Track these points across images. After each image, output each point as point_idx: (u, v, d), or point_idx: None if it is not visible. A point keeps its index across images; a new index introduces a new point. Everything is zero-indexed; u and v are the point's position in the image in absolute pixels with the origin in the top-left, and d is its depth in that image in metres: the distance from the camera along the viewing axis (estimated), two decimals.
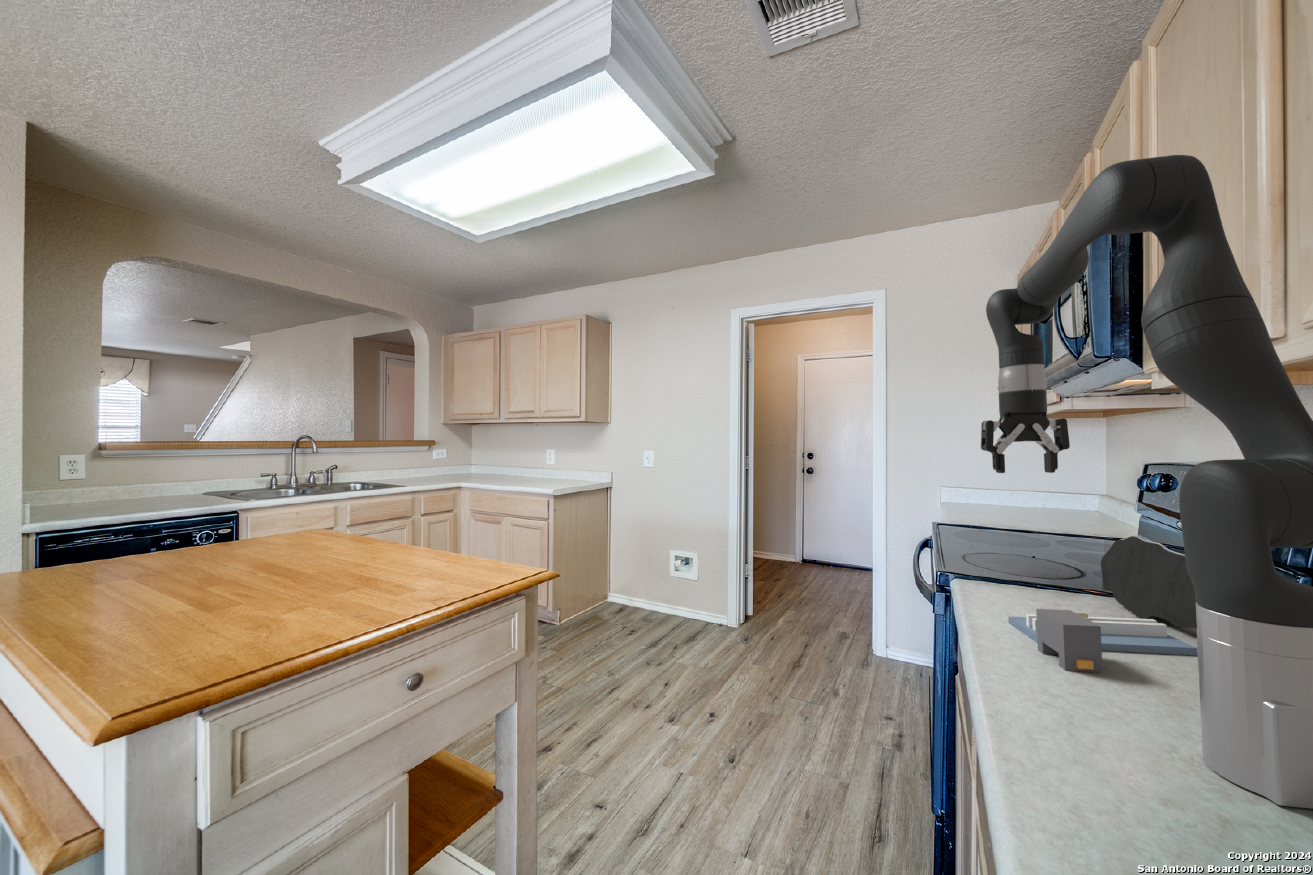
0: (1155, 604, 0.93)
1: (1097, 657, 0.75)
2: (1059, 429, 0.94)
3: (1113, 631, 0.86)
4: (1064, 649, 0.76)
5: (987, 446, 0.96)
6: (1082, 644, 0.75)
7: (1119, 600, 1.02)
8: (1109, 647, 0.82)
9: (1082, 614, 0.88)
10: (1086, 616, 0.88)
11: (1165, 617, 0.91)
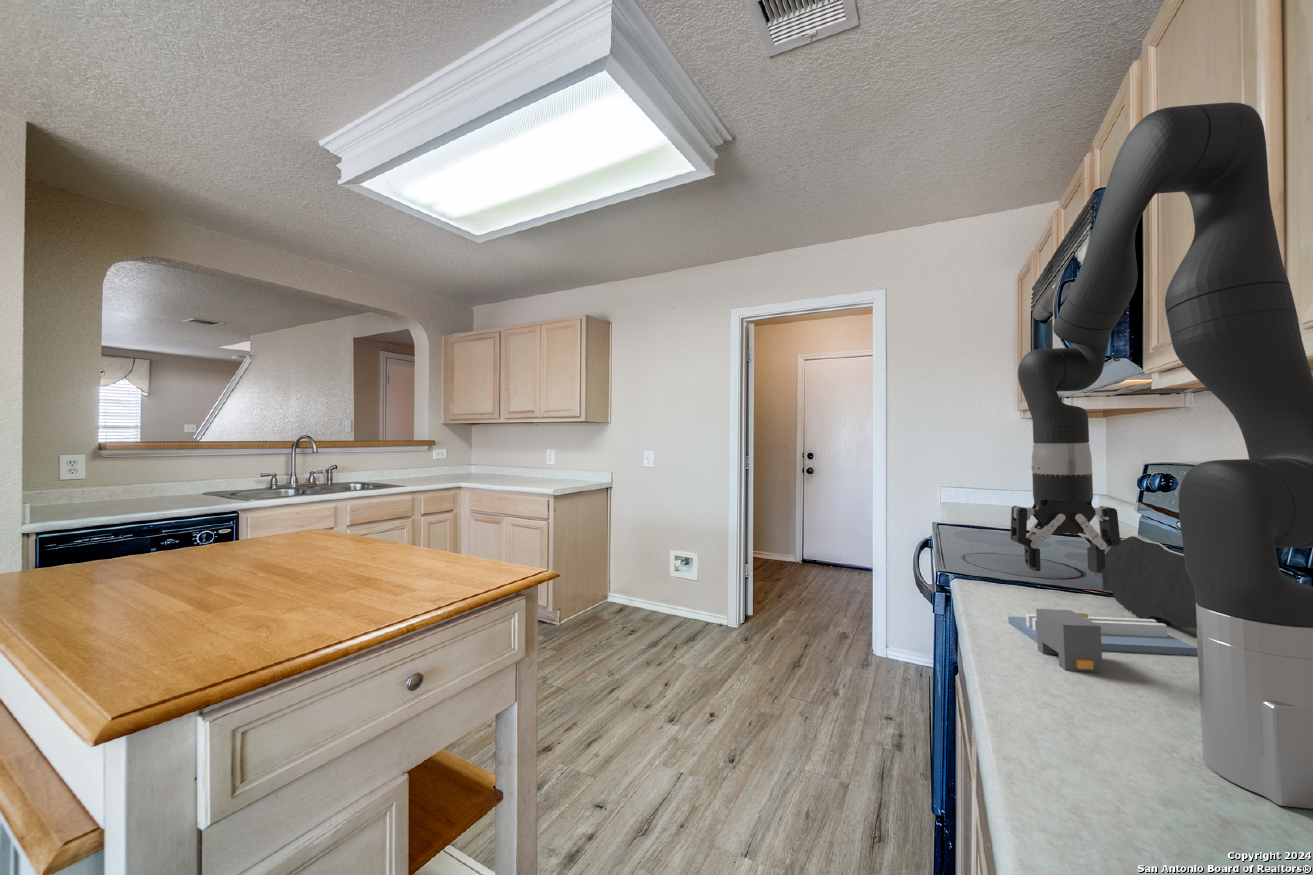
0: (1155, 604, 0.93)
1: (1097, 657, 0.75)
2: (1107, 521, 0.77)
3: (1113, 631, 0.86)
4: (1064, 649, 0.76)
5: (1019, 539, 0.80)
6: (1082, 644, 0.75)
7: (1119, 600, 1.02)
8: (1109, 647, 0.82)
9: (1082, 614, 0.88)
10: (1086, 616, 0.88)
11: (1165, 617, 0.91)
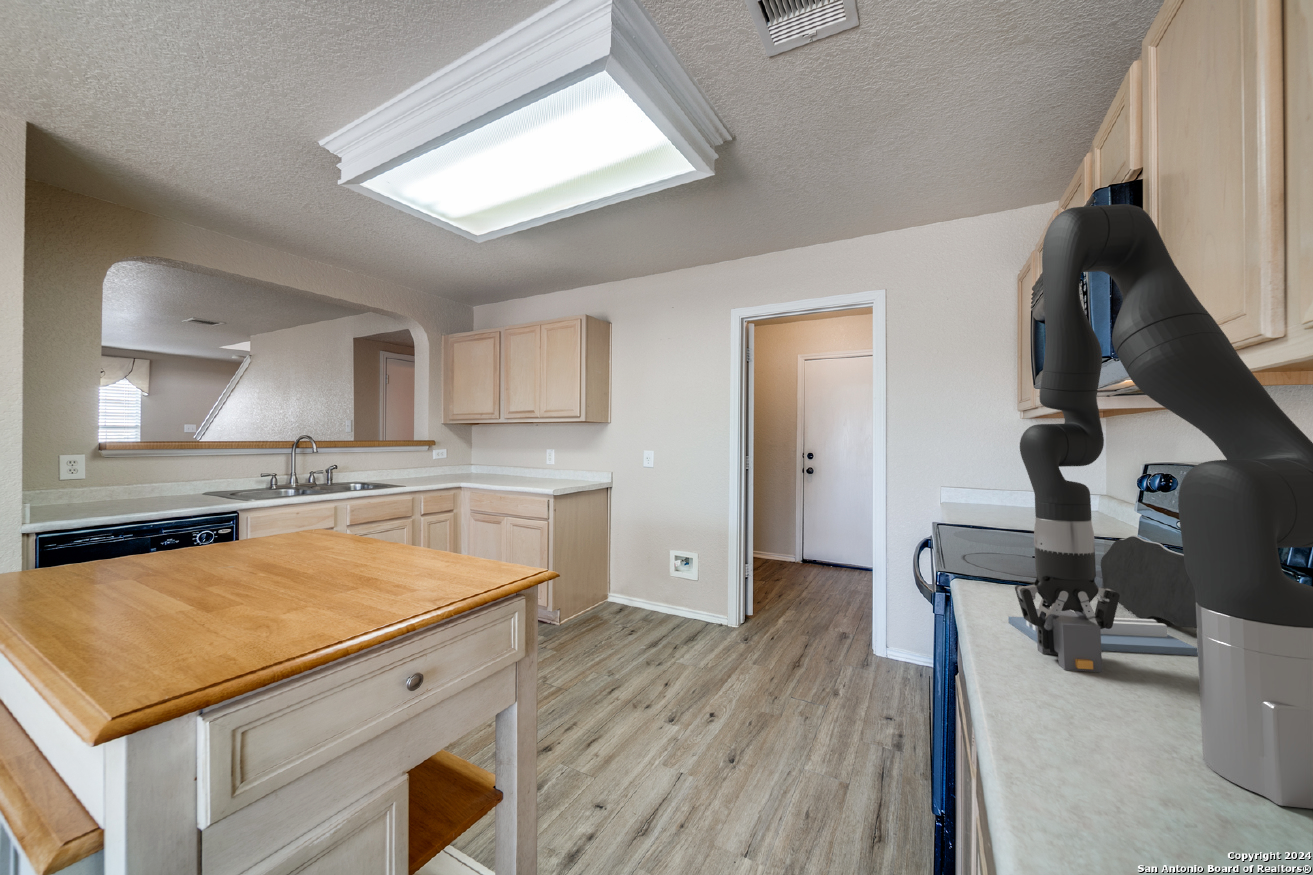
0: (1155, 604, 0.93)
1: (1097, 657, 0.75)
2: (1106, 603, 0.77)
3: (1113, 631, 0.86)
4: (1064, 649, 0.76)
5: (1032, 620, 0.79)
6: (1082, 644, 0.75)
7: (1119, 600, 1.02)
8: (1109, 647, 0.82)
9: None
10: None
11: (1165, 617, 0.91)
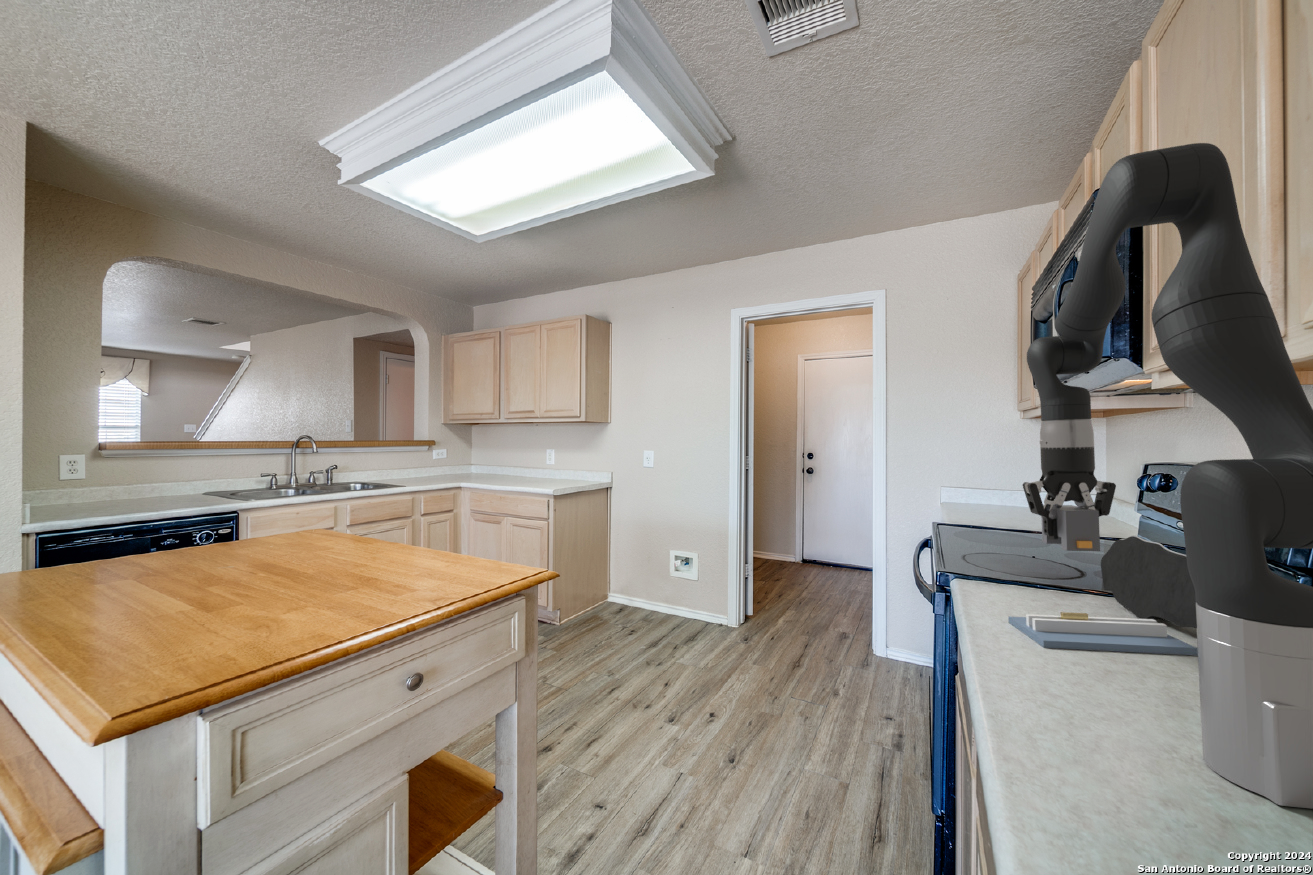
0: (1155, 604, 0.93)
1: (1095, 538, 0.85)
2: (1104, 493, 0.87)
3: (1113, 631, 0.86)
4: (1066, 532, 0.86)
5: (1038, 510, 0.89)
6: (1082, 527, 0.85)
7: (1119, 600, 1.02)
8: (1109, 647, 0.82)
9: (1082, 614, 0.88)
10: (1086, 616, 0.88)
11: (1165, 617, 0.91)
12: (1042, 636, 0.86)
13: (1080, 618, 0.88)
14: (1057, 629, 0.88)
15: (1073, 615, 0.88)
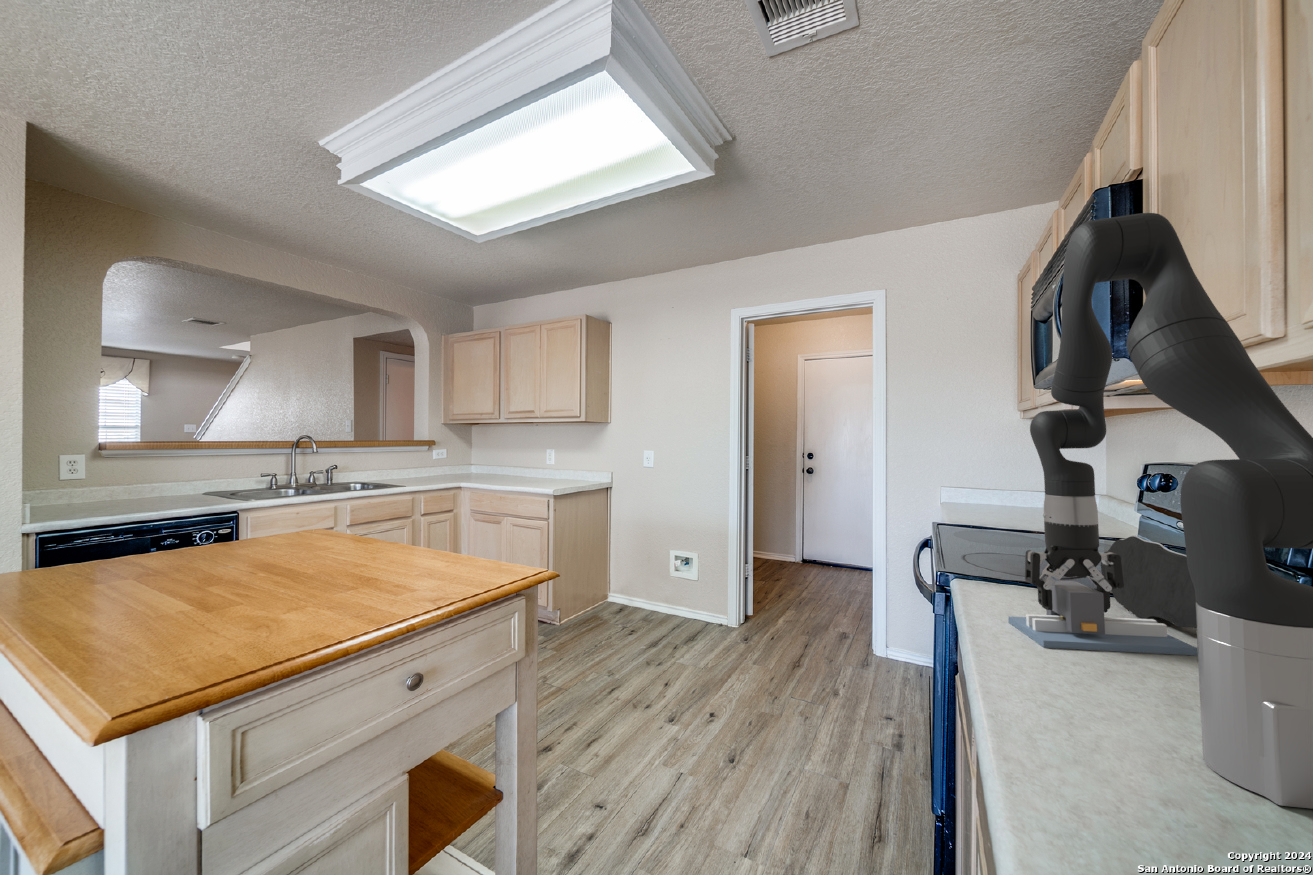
0: (1155, 604, 0.93)
1: (1100, 621, 0.84)
2: (1112, 565, 0.87)
3: (1113, 631, 0.86)
4: (1071, 614, 0.85)
5: (1033, 581, 0.89)
6: (1087, 610, 0.85)
7: (1119, 600, 1.02)
8: (1109, 647, 0.82)
9: None
10: None
11: (1165, 617, 0.91)
12: (1042, 636, 0.86)
13: None
14: (1057, 629, 0.88)
15: None
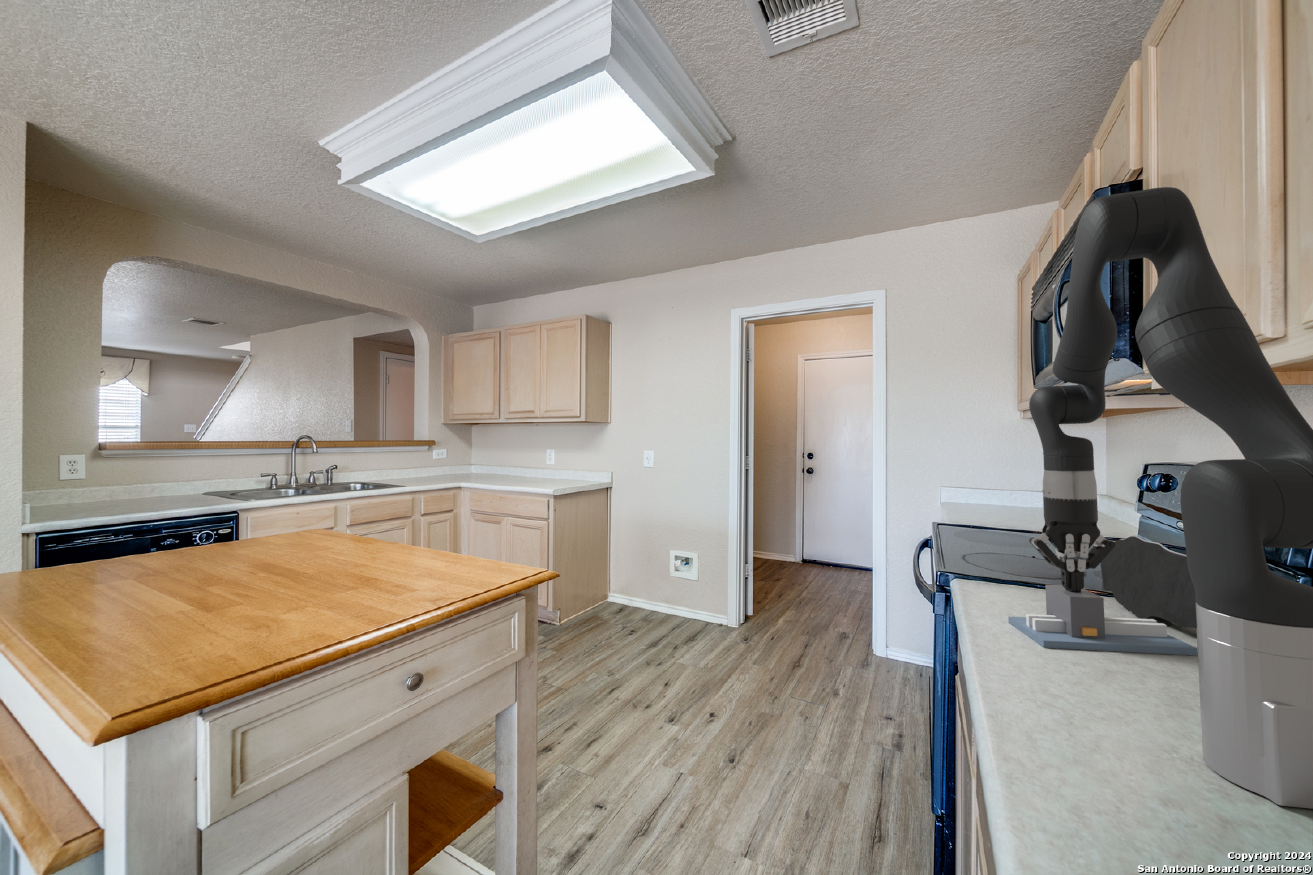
0: (1155, 604, 0.93)
1: (1101, 625, 0.84)
2: (1101, 548, 0.87)
3: (1113, 631, 0.86)
4: (1071, 619, 0.85)
5: (1056, 563, 0.88)
6: (1087, 614, 0.85)
7: (1119, 600, 1.02)
8: (1109, 647, 0.82)
9: None
10: None
11: (1165, 617, 0.91)
12: (1042, 636, 0.86)
13: None
14: (1057, 629, 0.88)
15: None
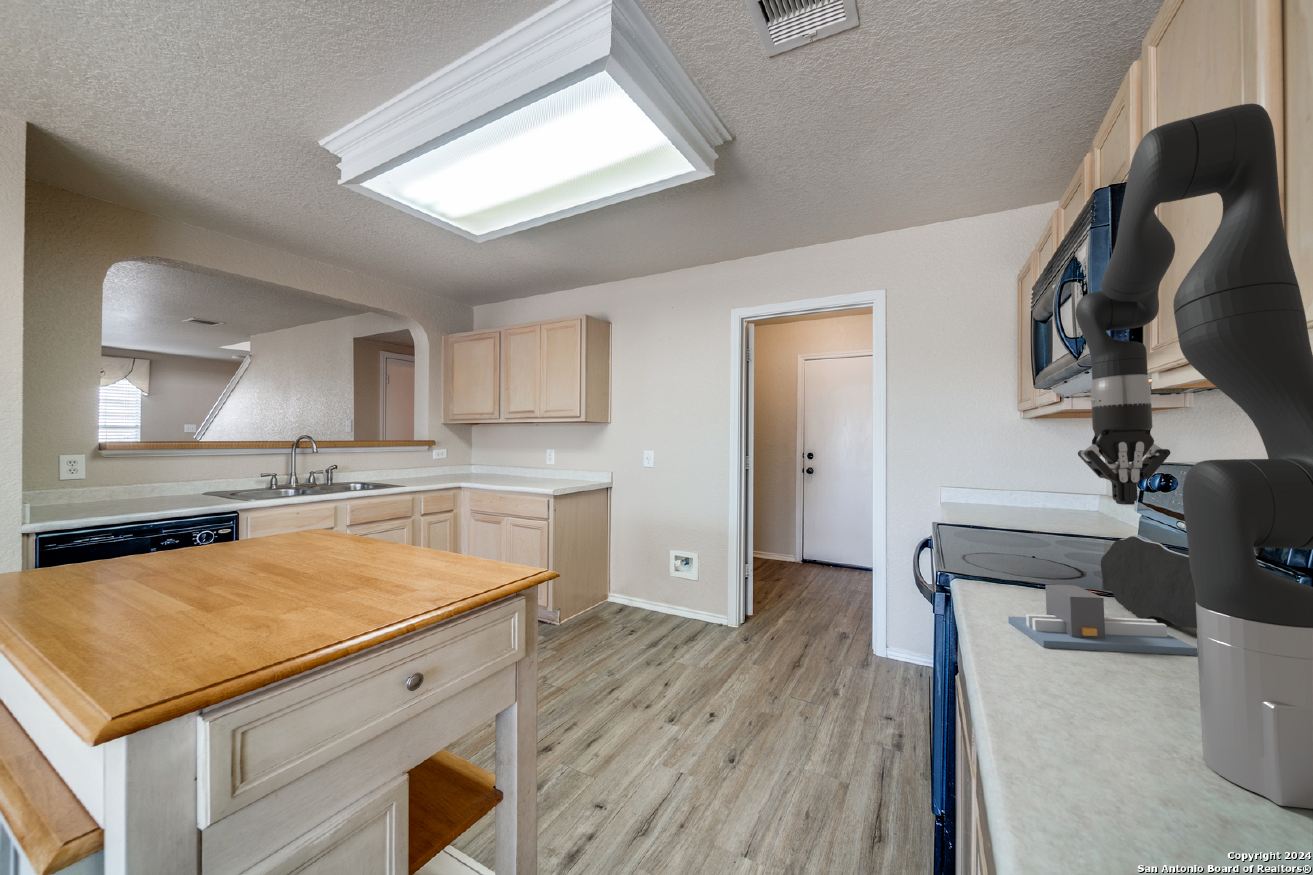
0: (1155, 604, 0.93)
1: (1101, 625, 0.84)
2: (1155, 457, 0.83)
3: (1113, 631, 0.86)
4: (1071, 619, 0.85)
5: (1108, 473, 0.84)
6: (1087, 614, 0.85)
7: (1119, 600, 1.02)
8: (1109, 647, 0.82)
9: None
10: None
11: (1165, 617, 0.91)
12: (1042, 636, 0.86)
13: None
14: (1057, 629, 0.88)
15: None
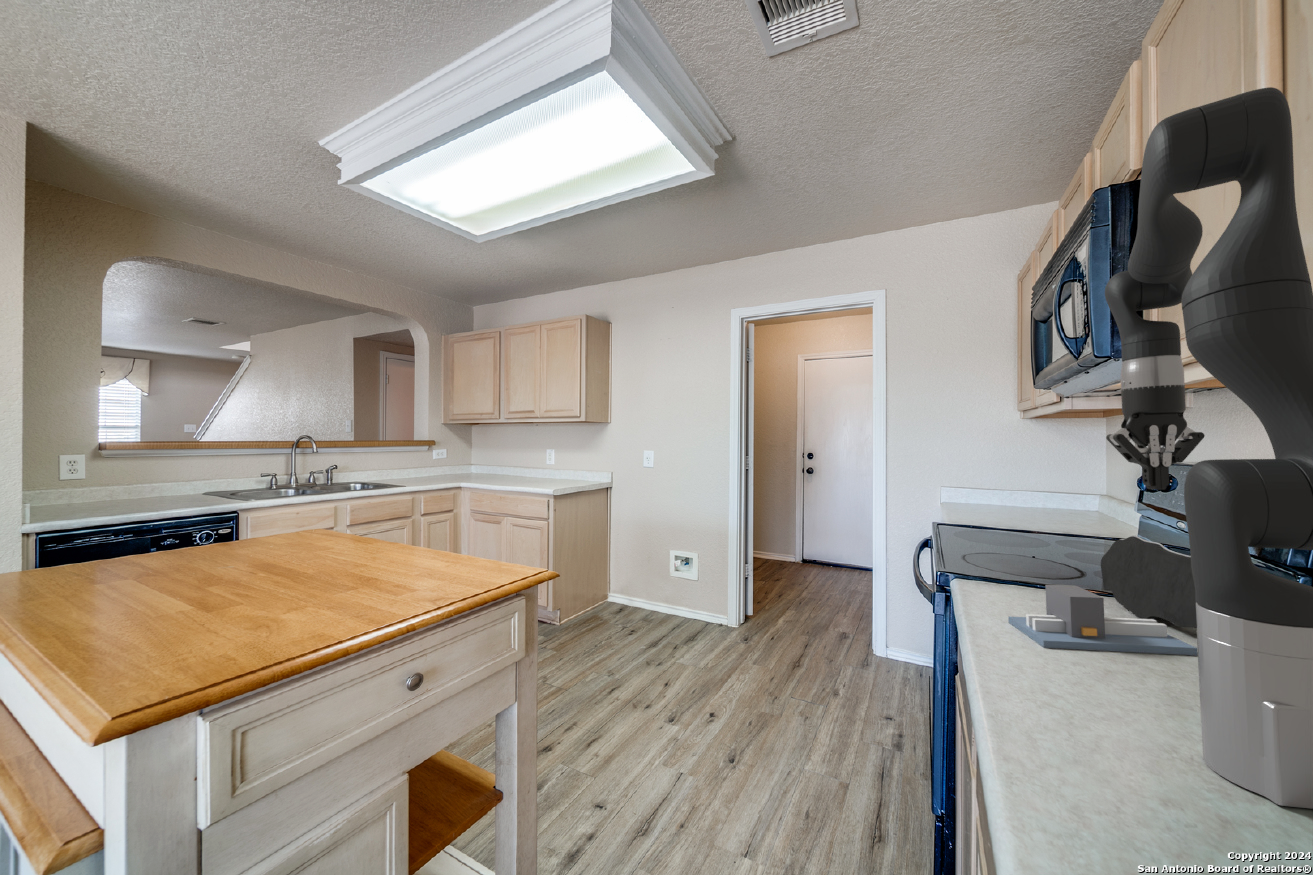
0: (1155, 604, 0.93)
1: (1101, 625, 0.84)
2: (1188, 440, 0.80)
3: (1113, 631, 0.86)
4: (1071, 619, 0.85)
5: (1139, 458, 0.81)
6: (1087, 614, 0.85)
7: (1119, 600, 1.02)
8: (1109, 647, 0.82)
9: None
10: None
11: (1165, 617, 0.91)
12: (1042, 636, 0.86)
13: None
14: (1057, 629, 0.88)
15: None
